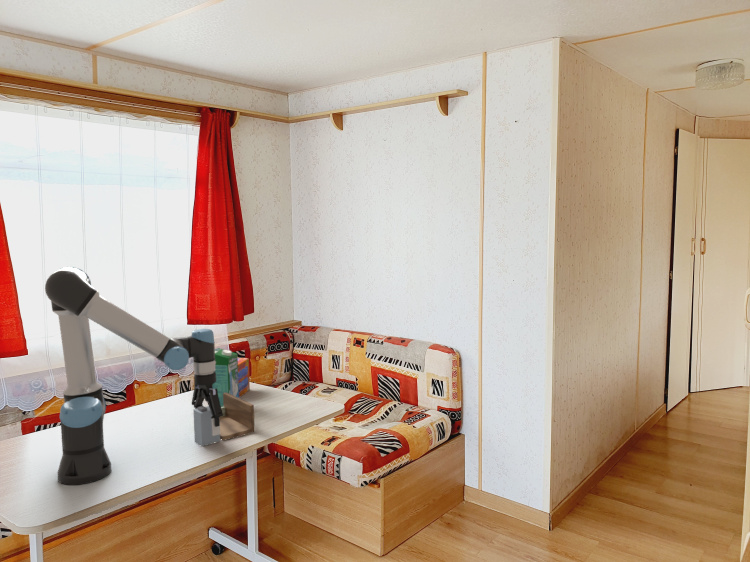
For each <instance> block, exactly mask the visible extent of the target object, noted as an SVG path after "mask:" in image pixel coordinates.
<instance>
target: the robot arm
mask: <svg viewBox="0 0 750 562" xmlns="http://www.w3.org/2000/svg"><path fill="white" fill-rule="evenodd" d="M44 291H45V295H46V297H47V298H48V299H49V300H50V303H51V309H52V310H51V311H52V312H53V313H54V314H56V315H57V316H58V322H59V329H60V335H61V337H60V338H61V345H62V346H61V347H62V352H63V360H64V367H65V368H64V369H65V374H66V383H67V387H65V389H64V391H63V393H62V394H63V400H64V401H63V404H62V405H61V407H60V409H59V410H60V411H59V420H60V431H61V432H60V433H61V445H62V446H61V449H62V450H61V451H62V454H61V455H62V456H61V459H60V462H59V467H58V469H57V472H56V473H57V482H59V483H61V484H64V485H69V486H70V485H73V486H74V485H75V486H77V485H85V484H89V483H92V482H96V481H99V480H101V479H103V478H106V477H107V476H109V474H110V473H111V471H112V462H111V460H110V457H109V456H108V453H107V450H106V449H105V444H104V442H105V441H104V419H105V413H106V410H107V403H106V402H107V401H106V400H105V397H104V392H103V391H104V390H103V386H102V384H101V383H99V382H98V381H97V376H96V375H97V374H96V368H95V361H94V358H95V357H94V352H93V344H92V343H93V342H92V337H91V329H90V328H91V327H90V321H93V322H94V323H96V324H97V325H99V326H101V327H102V328H104V329H106V330H108V331H109V332H111V333H113V334H114V335H116V336H118V337H120V338H121V339H123V340H125V341H126V342H129V343H130V344H132V345H133V346H135V347H137V348H139V349H140V350H141V351H143V352H146V353H147V354H149V355H150V356H152V357H154V358H155V359H157V360H158V361H160V362H162V363H164V365H165V366H166V367H167V368H169V369H170V370H173V371H180V370H182V369H184V368H185V367H186V366H187V365H188V364H189V360H190V358H192V364H193V367H192V368H193V373H194V374H193V381H194V385H193V387H194V389H193V394H192V398H191V405H192V406H193V408H194V409H198V407H201V406H204V404H203V403H204V401H205V402H207V405H208V406H209V408H210V411H211V413H212V417H211V419H212V436H215V435H219V434H220V416H223V413H222V409H221V405H220V401H219V397H218V391H217V388H216V389H213V386H212V385H213V384H214V383H215V382H216V372H214V371H215V364H216V361H215V349H216V348H215V345H216V344H215V336H214V334H215V333H214V331H213V330H212V329H210V328H198V329H194V330H192V332H191V335H190V336H182V337H168V336H166V335H165V334H164V333H162V332H160V331H158V330H157V329H155V328H154V327H151V326H150V325H149V324H147V323H145V322H144V321H142V320H140V319H139V318H137V317H135V316H134V315H132V314H131V313H129V312H127V311H125V310H124V309H122V307H118V306H117V305H115V304H114V303H113V302H111V301H109V300H108V299H107V298H104V297H103V296H101V295H100V292H99V290H98V289H96V288H94V287H93V286H92V282H91V279H90V277H89V275H88V274H87V273H86V272H85V271H84V270H82V269H81V268H79V267H76V266H66V267H61V268H59V269H58V270H56V271H54V272H53V273H51V274H50V275H49V276H48V278H47V280H46V281H45V285H44ZM89 320H90V321H89Z"/></svg>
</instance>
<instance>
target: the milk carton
mask: <svg viewBox="0 0 750 562" xmlns="http://www.w3.org/2000/svg"><path fill="white" fill-rule="evenodd" d="M238 358H239V357H238V353H236V352H233V351H232V350H229V349H223V348H220V347H217V348H215V361H216V364H215V371H214V372H216V382H215V383H214V384H213V385H212V386H213V389H216V388H217V391H218V397H219V401H220V405H221V407H223V393H226V392H227V393H229V394H231V395H233V396H235V397H238V398H239V387H238Z"/></svg>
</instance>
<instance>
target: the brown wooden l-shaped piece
mask: <svg viewBox="0 0 750 562" xmlns="http://www.w3.org/2000/svg"><path fill="white" fill-rule="evenodd" d="M221 409H222V413H223V416H220V440H221V439H222V440H221V441H226V440H225V439H227V440H230V439H229V438H231V439H234V438H238V437H241V435H242V436H245V435H249V434H252V433H255V429H256V428H255V407H254V404H253V403H251V402H248V401H246V400H244V399H242V398H241V397H240V398H238V397H235V396H233V395H231V394H229V393H227V392H226V393H223V407H221ZM248 433H249V434H248ZM244 434H245V435H244ZM237 436H238V437H237ZM233 437H234V438H233Z"/></svg>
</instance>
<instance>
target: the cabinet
mask: <svg viewBox="0 0 750 562" xmlns="http://www.w3.org/2000/svg"><path fill="white" fill-rule="evenodd" d="M211 417H212V413H211V411H210V408H209V405H208V406H204V405H202V406H201V407H198V409H195V408H194V409H193V428H194V429H193V433H194V443H196V444H197V443H198V446H200V445H201V447H205V446H204V445H206V446H208V445H207V444H209V445H212V444H211V443H213V444H215V443H214V442H217V443H219V442H218V441H220V442H221V439H220V434H219V435H215V436H212V419H211Z"/></svg>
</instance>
